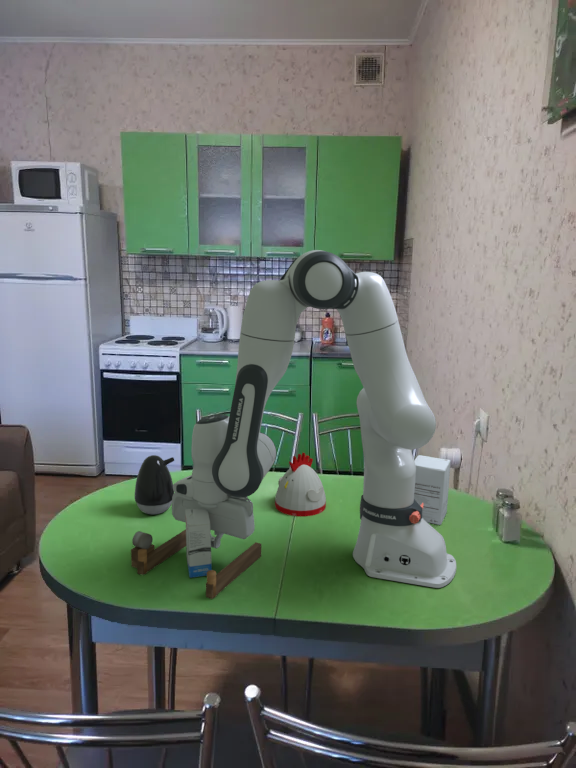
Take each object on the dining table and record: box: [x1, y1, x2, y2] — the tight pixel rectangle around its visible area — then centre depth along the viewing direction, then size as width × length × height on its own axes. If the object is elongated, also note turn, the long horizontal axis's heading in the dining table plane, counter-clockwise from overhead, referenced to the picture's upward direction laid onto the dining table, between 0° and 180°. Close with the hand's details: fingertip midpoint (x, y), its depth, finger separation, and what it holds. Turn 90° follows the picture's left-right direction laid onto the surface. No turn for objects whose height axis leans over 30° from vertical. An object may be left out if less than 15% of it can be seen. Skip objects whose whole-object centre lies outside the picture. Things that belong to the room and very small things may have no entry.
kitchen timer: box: [274, 452, 327, 517], centre depth 149 cm, size 14×14×15 cm
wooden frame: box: [130, 528, 262, 600], centre depth 120 cm, size 22×19×7 cm
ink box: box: [185, 508, 213, 579], centre depth 118 cm, size 9×5×12 cm, turn 14°
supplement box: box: [414, 455, 451, 526], centre depth 145 cm, size 9×9×15 cm
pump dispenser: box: [134, 454, 175, 515], centre depth 145 cm, size 10×10×15 cm
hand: (212, 545), depth 123 cm, fingers closed
